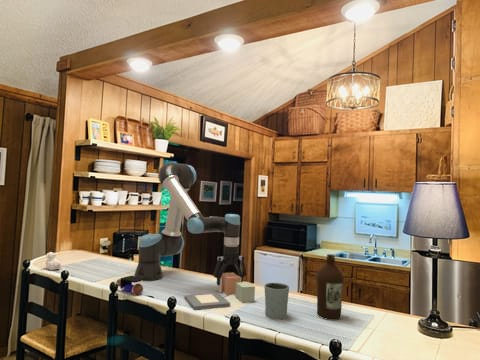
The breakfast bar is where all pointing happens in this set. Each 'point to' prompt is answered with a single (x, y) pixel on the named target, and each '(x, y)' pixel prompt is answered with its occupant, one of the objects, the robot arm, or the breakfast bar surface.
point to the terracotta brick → (229, 283)
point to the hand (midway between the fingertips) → (229, 290)
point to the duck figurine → (52, 262)
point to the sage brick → (245, 292)
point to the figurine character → (127, 284)
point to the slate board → (206, 301)
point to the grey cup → (276, 300)
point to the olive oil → (329, 290)
